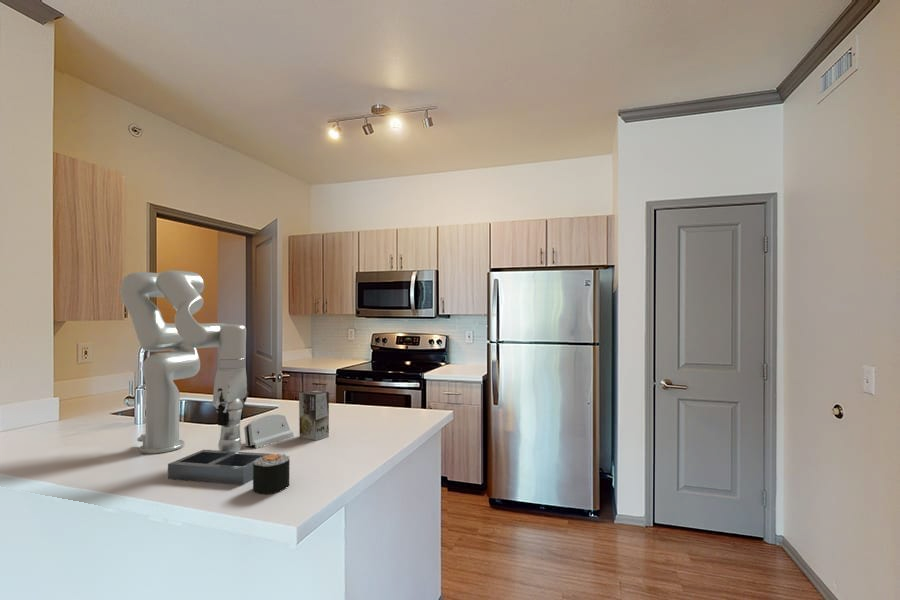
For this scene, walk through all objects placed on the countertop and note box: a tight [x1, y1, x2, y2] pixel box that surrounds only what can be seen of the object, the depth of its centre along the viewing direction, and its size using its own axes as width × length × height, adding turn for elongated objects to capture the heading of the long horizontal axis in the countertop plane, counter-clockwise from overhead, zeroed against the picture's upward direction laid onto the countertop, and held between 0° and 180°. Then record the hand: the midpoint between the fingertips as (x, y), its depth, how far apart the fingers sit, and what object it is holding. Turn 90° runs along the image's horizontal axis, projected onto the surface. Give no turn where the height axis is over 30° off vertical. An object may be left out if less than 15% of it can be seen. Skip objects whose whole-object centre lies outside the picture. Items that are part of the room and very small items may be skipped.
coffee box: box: [298, 389, 330, 441], centre depth 163 cm, size 9×6×16 cm
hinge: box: [243, 414, 294, 449], centre depth 157 cm, size 17×5×10 cm, turn 152°
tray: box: [167, 449, 271, 485], centre depth 126 cm, size 23×13×4 cm, turn 79°
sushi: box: [252, 453, 291, 495], centre depth 115 cm, size 8×8×8 cm
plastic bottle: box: [217, 398, 243, 452], centre depth 139 cm, size 6×7×20 cm
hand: (230, 422), depth 139 cm, fingers closed on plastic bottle, 6 cm apart
